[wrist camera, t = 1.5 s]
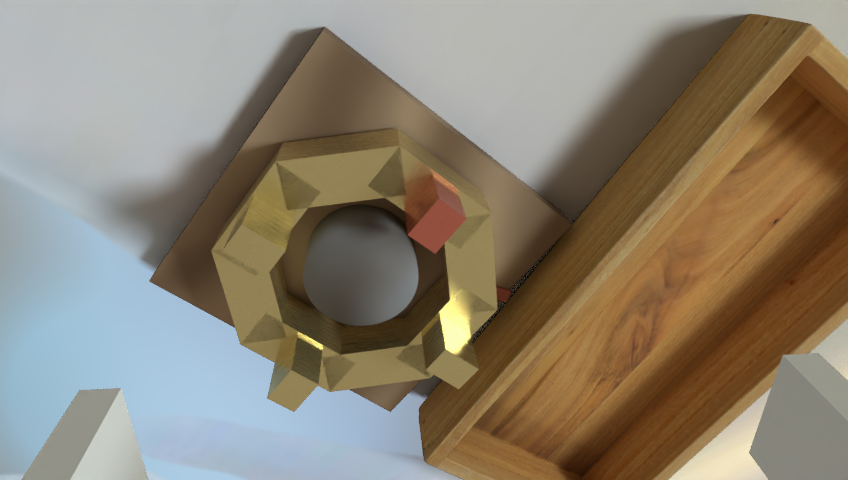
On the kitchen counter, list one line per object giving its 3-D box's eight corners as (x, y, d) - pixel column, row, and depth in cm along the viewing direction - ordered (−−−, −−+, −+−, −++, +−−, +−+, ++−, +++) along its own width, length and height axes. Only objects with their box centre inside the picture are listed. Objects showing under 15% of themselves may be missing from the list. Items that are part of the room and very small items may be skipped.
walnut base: (157, 267, 35) (130, 309, 31) (324, 26, 29) (317, 40, 25) (393, 398, 41) (396, 446, 37) (568, 217, 35) (592, 252, 31)
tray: (745, 9, 31) (818, 24, 26) (908, 159, 36) (996, 196, 31) (415, 399, 41) (421, 463, 36) (576, 474, 46) (601, 541, 41)
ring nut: (185, 278, 33) (151, 342, 28) (330, 77, 29) (321, 109, 24) (386, 390, 38) (388, 461, 33) (536, 232, 33) (566, 286, 28)
